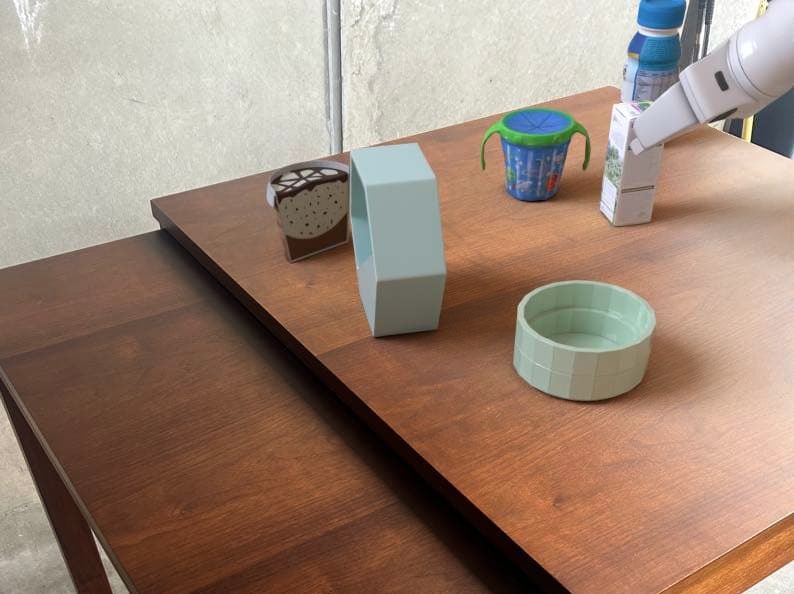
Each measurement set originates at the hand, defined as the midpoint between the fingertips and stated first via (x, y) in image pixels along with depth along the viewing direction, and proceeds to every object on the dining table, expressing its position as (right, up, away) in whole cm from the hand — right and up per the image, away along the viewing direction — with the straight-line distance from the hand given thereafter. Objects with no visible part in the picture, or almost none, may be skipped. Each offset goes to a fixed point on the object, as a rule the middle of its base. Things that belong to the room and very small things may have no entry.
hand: (659, 138), depth 112 cm
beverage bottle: (+6, +13, +28) cm, 32 cm away
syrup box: (-2, -7, +9) cm, 12 cm away
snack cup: (-14, -1, +16) cm, 21 cm away
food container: (-46, -12, +6) cm, 48 cm away
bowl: (-14, -33, -16) cm, 39 cm away
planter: (-34, -24, -7) cm, 42 cm away
